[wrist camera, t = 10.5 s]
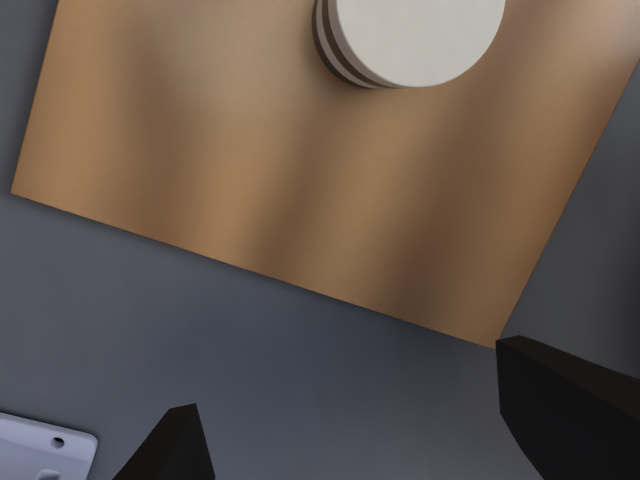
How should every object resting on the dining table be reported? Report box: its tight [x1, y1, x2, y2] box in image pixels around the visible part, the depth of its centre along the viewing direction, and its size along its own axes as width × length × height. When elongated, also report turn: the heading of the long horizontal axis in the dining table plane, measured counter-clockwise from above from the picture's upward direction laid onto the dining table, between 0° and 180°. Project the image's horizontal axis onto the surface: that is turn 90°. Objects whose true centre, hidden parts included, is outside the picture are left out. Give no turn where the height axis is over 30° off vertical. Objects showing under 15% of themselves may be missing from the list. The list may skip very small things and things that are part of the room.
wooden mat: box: [10, 0, 640, 349], centre depth 18 cm, size 20×20×1 cm
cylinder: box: [312, 0, 505, 89], centre depth 15 cm, size 4×4×6 cm
